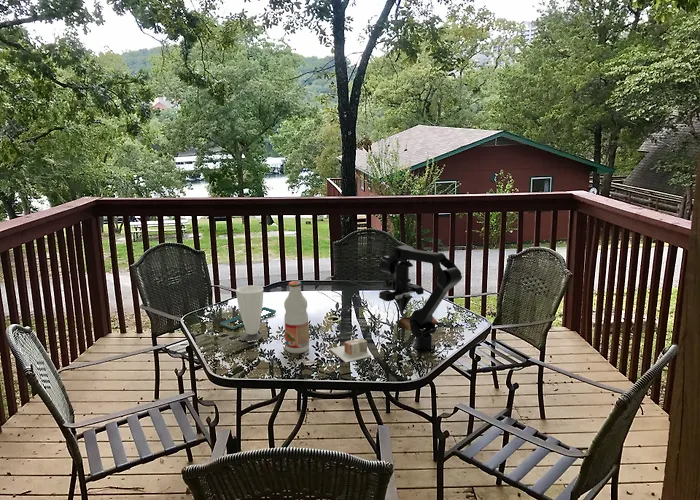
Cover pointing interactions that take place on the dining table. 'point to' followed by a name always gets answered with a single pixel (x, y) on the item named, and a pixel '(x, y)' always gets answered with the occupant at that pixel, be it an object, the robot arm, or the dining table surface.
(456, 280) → the robot arm
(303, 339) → the fruit juice
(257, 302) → the cup
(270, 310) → the teal flat open frame
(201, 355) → the dining table surface
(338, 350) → the beige flat slab
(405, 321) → the sunglasses case
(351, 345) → the tall block
